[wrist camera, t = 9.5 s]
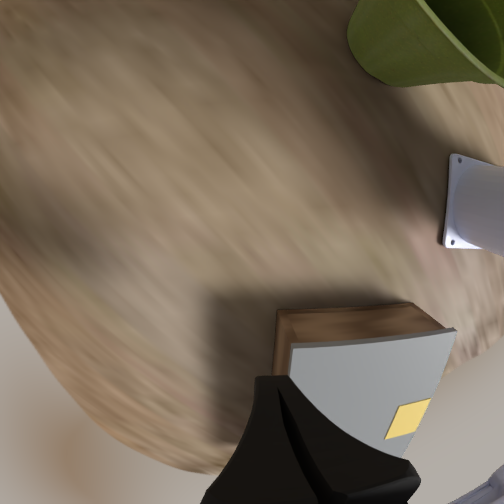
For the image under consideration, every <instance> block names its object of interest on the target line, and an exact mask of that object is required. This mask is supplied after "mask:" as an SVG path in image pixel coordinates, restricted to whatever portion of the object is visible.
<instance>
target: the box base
mask: <svg viewBox="0 0 504 504" xmlns="http://www.w3.org/2000/svg"><path fill="white" fill-rule="evenodd" d="M440 329H446V328H445V327H444V326H442V325H441V324H440V323H438V322H437V321H436V320H435V319H433V318H432V317H431V316H429V315H428V314H427V313H426V312H424V311H423V310H422V309H420V308H419V307H418V306H416V305H415V304H414V303H403V304H390V305H376V306H360V307H342V308H319V309H286V310H277V316H276V329H275V342H274V354H273V366H272V376H275V375H288V367H289V359H290V350H291V343H311V342H329V341H343V340H356V339H367V338H377V337H387V336H396V335H404V334H412V333H420V332H427V331H433V330H440Z"/></svg>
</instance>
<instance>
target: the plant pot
mask: <svg viewBox="0 0 504 504" xmlns="http://www.w3.org/2000/svg"><path fill="white" fill-rule="evenodd" d="M347 40H348V44H349V47H350V49H351V52H352V54H353V55H354V57H355V59H356V60H357V61H358V63H359V64H360V65H361V66H362V67H363V69H364V70H365V71H366V72H368V73H369V74H370V75H372V76H374V77H376V78H378V79H379V80H381V81H382V82H384V83H385V84H387V85H390V86H394V87H411V86H419V85H428V84H437V83H449V82H464V81H473V82H477V83H483V84H497V85H499V86H501V87H502V88H504V0H359V2H358V4H357V6H356V8H355V10H354V12H353V14H352V16H351V19H350V21H349V24H348V28H347Z"/></svg>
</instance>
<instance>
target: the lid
mask: <svg viewBox="0 0 504 504" xmlns="http://www.w3.org/2000/svg"><path fill="white" fill-rule="evenodd" d="M456 334H457V330H456V329H454V328H453V327H452V328H446V329H440V330H433V331H427V332H420V333H412V334H404V335H396V336H387V337H377V338H367V339H356V340H343V341H329V342H311V343H291V350H290V359H289V367H288V376H289V377H290V378H291V379H292V380H293V382H294V383H295V384H296V386H297V387H298V388H299V389H300V390H301V392H302V393H303V394H304V395H305V396H306V397H307V398H308V399H309V401H310V402H311V403H312V404H313V405H314V406H315V407H316V408H317V409H318V410H319V411H320V412H321V413H322V414H324V415H325V416H326V417H327V418H328V419H329V420H330V421H332V422H333V423H334V424H335V425H337V426H338V427H339V428H341V429H342V430H343V431H345V432H346V433H348V434H349V435H351V436H352V437H354V438H356V439H358V440H360V441H361V442H363V443H365V444H367V445H369V446H371V447H373V448H375V449H377V450H380V451H382V452H384V453H387V454H390V455H393V456H396V457H399V458H401V457H402V455H403V454H404V452H405V450H406V449H407V447H408V445H409V443H410V442H411V440H412V438H413V436H414V434H415V432H416V430H417V428H418V426H419V425H420V423H421V421H422V419H423V416H424V414H425V412H426V410H427V408H428V406H429V404H430V401H431V399H432V397H433V395H434V392H435V390H436V388H437V385H438V383H439V381H440V378H441V376H442V373H443V371H444V368H445V366H446V363H447V360H448V357H449V355H450V352H451V349H452V346H453V343H454V340H455V337H456Z"/></svg>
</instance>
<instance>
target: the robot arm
mask: <svg viewBox="0 0 504 504" xmlns="http://www.w3.org/2000/svg"><path fill="white" fill-rule="evenodd" d="M458 159H459V162H458ZM451 241H452V243H451ZM443 246H444V247H446V248H465V249H485V250H488V251H490V252H493V253H495V254H498V255H500V256H503V257H504V167H502V166H495V165H492V164H489V163H486V162H482V161H479V160H476V159H473V158H469V157H466V156H463V155H459V154H451V155H450V162H449V184H448V198H447V209H446V218H445V227H444V235H443ZM420 483H421V478H420V477H419V475H418V473H417V471H416V470H415V468H414V467H413V465H412V464H411V463H410V461H409V460H406V459H402V458H399V457H396V456H393V455H390V454H387V453H384V452H382V451H380V450H377V449H375V448H373V447H371V446H369V445H367V444H365V443H363V442H361V441H360V440H358V439H356V438H354V437H352V436H351V435H349V434H348V433H346V432H345V431H343V430H342V429H341V428H339V427H338V426H337V425H335V424H334V423H333V422H332V421H330V420H329V419H328V418H327V417H326V416H325V415H324V414H322V413H321V412H320V411H319V410H318V409H317V408H316V407H315V406H314V405H313V404H312V403H311V402H310V401H309V399H308V398H307V397H306V396H305V395H304V394H303V393H302V392H301V390H300V389H299V388H298V387H297V386H296V384H295V383H294V382H293V380H292V379H291V378H290V377H289V376H288V375H275V376H257V377H256V378H255V386H254V403H253V408H252V412H251V415H250V418H249V421H248V424H247V426H246V429H245V431H244V434H243V436H242V438H241V440H240V442H239V444H238V446H237V448H236V450H235V452H234V454H233V455H232V457H231V459H230V460H229V462H228V463H227V465H226V466H225V468H224V469H223V470H222V472H221V473H220V475H219V476H218V477H217V478H216V480H215V481H214V482H213V483H212V484H211V486H210V487H209V488H208V489H207V490H206V492H205V495H204V497H203V499H202V501H201V503H200V504H408V503H407V501H408V500H409V499H410V497H411V496H412V495H413V494H414V493H415V491H416V490H417V489H418V487H419V485H420ZM448 504H504V465H502V466H501V467H500V468H499V469H497V470H496V471H495V472H494V473H493V474H492V476H491V477H490V478H489V479H488V481H486V482H485V483H483V484H482V485H480V486H478V487H477V488H475V489H474V490H472V491H470V492H469V493H467V494H465V495H463V496H461V497H460V498H458V499H456V500H454V501H452V502H450V503H448Z"/></svg>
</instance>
